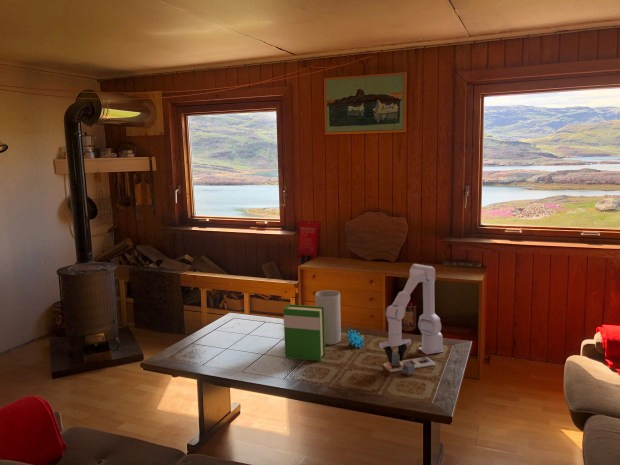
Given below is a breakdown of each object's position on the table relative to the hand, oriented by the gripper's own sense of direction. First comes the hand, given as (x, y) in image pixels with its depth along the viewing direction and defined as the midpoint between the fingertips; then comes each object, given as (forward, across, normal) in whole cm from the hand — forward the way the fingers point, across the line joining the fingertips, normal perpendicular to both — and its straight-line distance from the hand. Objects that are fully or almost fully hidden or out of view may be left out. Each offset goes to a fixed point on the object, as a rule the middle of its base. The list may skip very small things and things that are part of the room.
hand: (395, 361), depth 228 cm
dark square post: (+2, 0, 0) cm, 2 cm away
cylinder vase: (+3, +17, -42) cm, 45 cm away
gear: (+3, +6, -31) cm, 32 cm away
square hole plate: (+3, -7, 0) cm, 8 cm away
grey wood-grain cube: (+3, -3, +7) cm, 8 cm away
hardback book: (+3, +34, -27) cm, 44 cm away
